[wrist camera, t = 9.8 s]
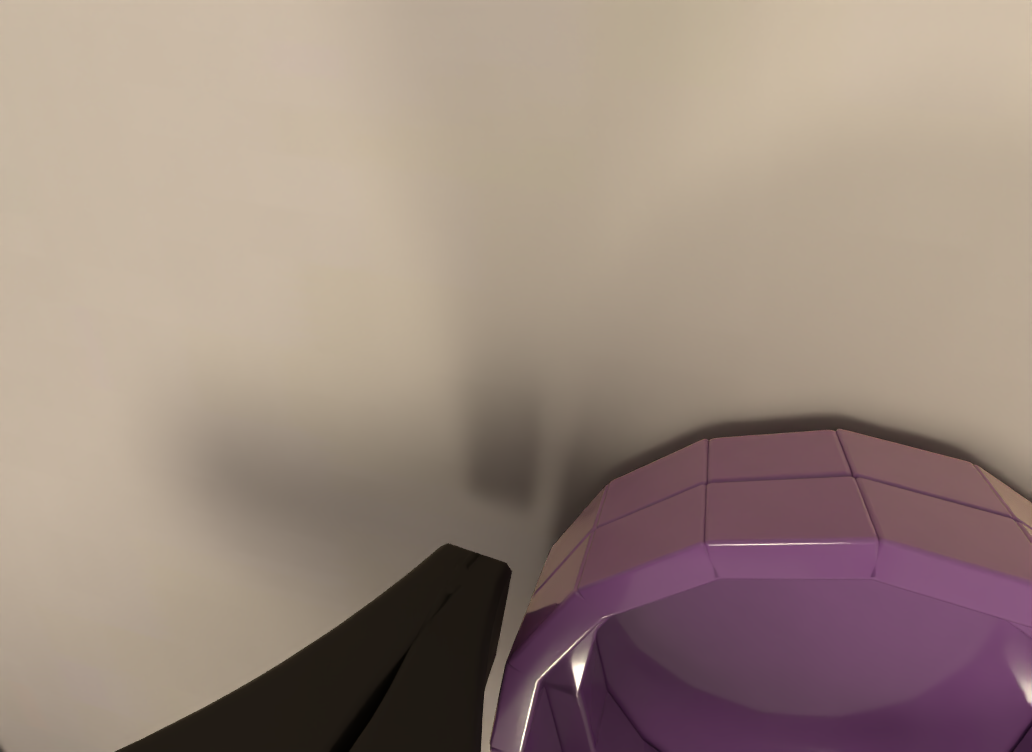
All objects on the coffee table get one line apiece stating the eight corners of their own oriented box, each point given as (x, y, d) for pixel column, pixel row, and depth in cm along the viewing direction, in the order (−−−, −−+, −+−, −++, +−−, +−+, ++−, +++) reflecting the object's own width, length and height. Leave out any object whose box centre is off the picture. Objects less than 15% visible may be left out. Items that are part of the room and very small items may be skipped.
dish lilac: (955, 893, 11) (1032, 1140, 8) (514, 722, 13) (460, 881, 10) (1253, 517, 8) (1543, 730, 5) (598, 351, 9) (550, 444, 7)
